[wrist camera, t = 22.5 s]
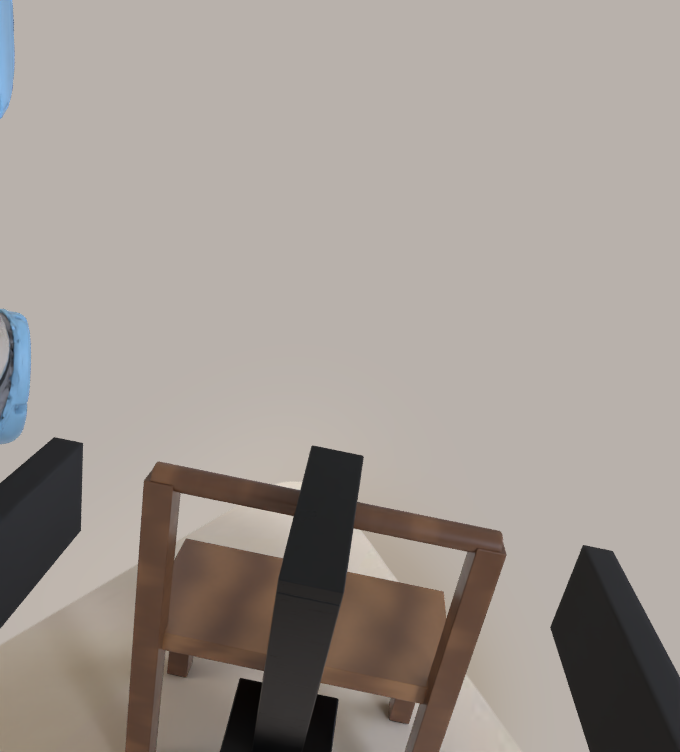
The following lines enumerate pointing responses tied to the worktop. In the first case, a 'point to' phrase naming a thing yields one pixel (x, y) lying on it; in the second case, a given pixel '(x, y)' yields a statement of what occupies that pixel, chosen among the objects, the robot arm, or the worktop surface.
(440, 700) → the chair
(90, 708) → the worktop surface
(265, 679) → the black pedestal stand
